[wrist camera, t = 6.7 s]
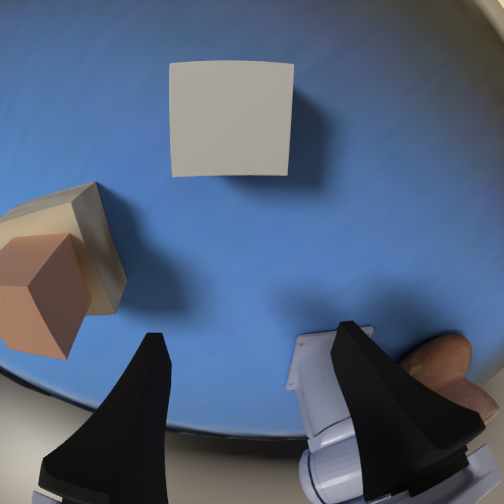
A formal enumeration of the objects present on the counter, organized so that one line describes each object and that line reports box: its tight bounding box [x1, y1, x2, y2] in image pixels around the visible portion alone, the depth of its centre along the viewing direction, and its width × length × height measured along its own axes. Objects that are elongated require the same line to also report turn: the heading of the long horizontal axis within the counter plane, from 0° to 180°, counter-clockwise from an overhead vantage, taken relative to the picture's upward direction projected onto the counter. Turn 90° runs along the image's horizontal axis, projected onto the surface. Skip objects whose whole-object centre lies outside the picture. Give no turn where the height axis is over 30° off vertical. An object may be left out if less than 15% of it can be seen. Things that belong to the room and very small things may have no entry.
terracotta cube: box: [0, 233, 92, 360], centre depth 12 cm, size 5×5×5 cm
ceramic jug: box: [398, 334, 500, 424], centre depth 26 cm, size 18×14×14 cm
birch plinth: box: [0, 181, 128, 316], centre depth 16 cm, size 8×8×4 cm
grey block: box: [169, 61, 294, 177], centre depth 13 cm, size 5×5×5 cm
